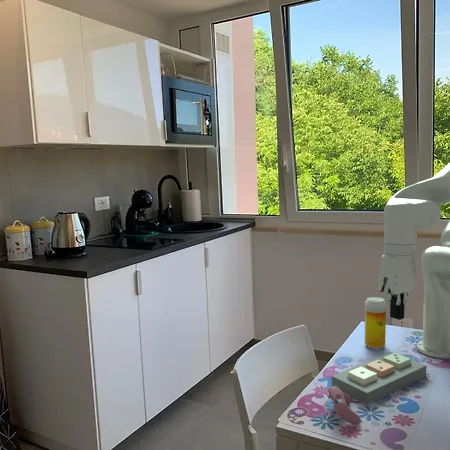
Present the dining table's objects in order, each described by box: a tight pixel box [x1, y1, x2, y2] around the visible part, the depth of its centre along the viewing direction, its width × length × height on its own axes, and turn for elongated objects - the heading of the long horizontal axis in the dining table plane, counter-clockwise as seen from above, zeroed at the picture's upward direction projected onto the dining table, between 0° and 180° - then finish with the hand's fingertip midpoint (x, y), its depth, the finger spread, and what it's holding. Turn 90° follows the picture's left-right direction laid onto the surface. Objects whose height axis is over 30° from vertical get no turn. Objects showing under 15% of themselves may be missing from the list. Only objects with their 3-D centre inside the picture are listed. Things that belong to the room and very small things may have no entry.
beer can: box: [364, 296, 387, 350], centre depth 142 cm, size 6×6×15 cm
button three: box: [383, 352, 412, 370], centre depth 124 cm, size 5×5×3 cm
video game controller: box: [326, 385, 362, 426], centre depth 105 cm, size 10×5×7 cm, turn 179°
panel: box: [331, 352, 427, 406], centre depth 120 cm, size 24×11×3 cm, turn 124°
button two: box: [366, 360, 394, 378], centre depth 120 cm, size 5×5×3 cm
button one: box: [348, 367, 377, 386], centre depth 116 cm, size 5×5×3 cm
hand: (396, 317), depth 122 cm, fingers closed
